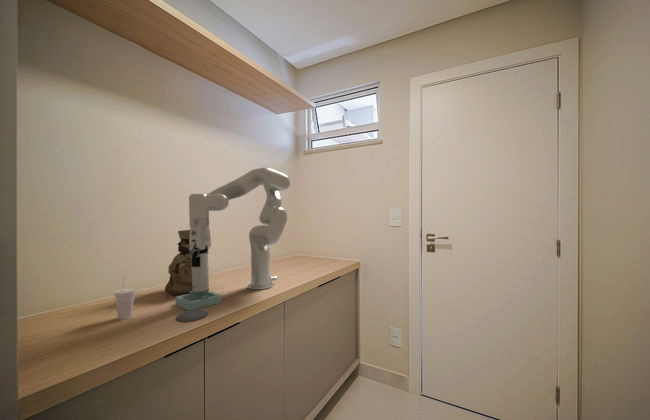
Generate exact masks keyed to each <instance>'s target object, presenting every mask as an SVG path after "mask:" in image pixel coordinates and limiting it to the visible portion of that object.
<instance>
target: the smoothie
mask: <svg viewBox="0 0 650 420" xmlns="http://www.w3.org/2000/svg"><path fill="white" fill-rule="evenodd" d="M125 279H126V278H122V289H119V290H116V291H115V292H114V294H113V296H115V305H116V311H117V318H118V320H121V321H122V320H128V319H130V318H132V315H133V309H134V303H135V297H136V296H135V295H136V293H137V289H136V288H125V287H126V285H125V284H126V283H125V282H126V281H125Z"/></svg>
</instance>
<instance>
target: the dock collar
mask: <svg viewBox="0 0 650 420" xmlns="http://www.w3.org/2000/svg"><path fill="white" fill-rule="evenodd" d="M221 303H222V294H220V293H219V294H218V293H216V292H213V291H210V290H209V291H208V292H206V293H203V294H193V291H190V293H189V294H186V295H181V296H175V304H176V305H177V306H179V307H181V308H183V309H184V310H186V311H191V310H200V309H202V308H206V307H209V306H213V305H216V304H221Z"/></svg>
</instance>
